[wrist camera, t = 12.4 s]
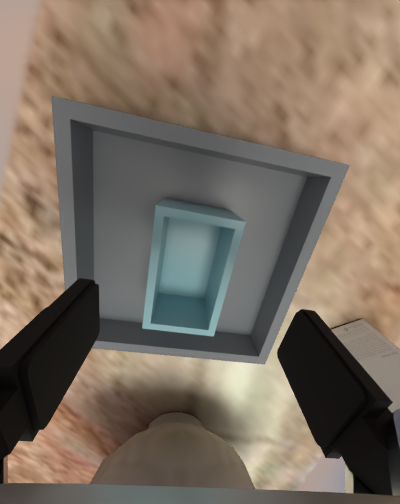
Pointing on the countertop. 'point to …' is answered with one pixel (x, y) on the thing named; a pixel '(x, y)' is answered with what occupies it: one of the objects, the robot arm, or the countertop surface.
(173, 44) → the countertop surface
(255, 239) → the gray square tray
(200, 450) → the flower arrangement
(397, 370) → the small box
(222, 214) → the small crate
